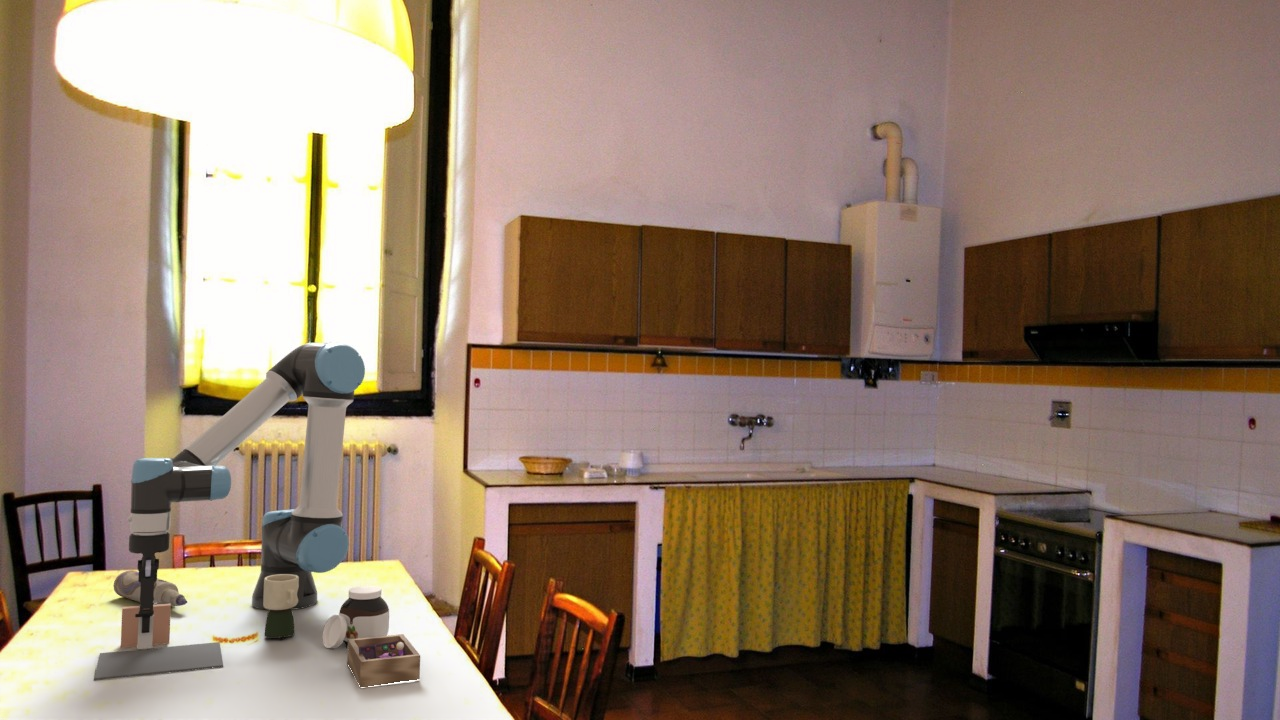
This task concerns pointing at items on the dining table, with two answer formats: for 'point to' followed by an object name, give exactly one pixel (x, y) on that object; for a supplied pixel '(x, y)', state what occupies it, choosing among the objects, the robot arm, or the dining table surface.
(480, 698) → the dining table surface
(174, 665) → the rubber mat
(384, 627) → the spread jar
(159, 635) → the terracotta tile
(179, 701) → the dining table surface
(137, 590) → the decorative bottle
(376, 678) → the open wooden trinket box
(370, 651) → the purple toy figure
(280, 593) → the character mug
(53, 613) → the dining table surface
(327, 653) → the dining table surface
